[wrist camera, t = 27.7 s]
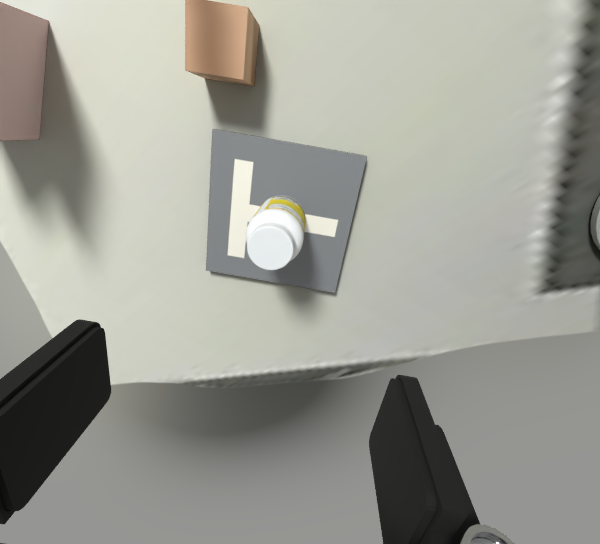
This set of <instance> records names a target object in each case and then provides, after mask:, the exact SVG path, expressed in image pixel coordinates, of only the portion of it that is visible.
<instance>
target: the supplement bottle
mask: <svg viewBox="0 0 600 544" xmlns="http://www.w3.org/2000/svg"><path fill="white" fill-rule="evenodd" d="M305 225H306V217H305V213H304V210H303V208H302V207H301V205H300V204H299V203H298V202H297V201H296V200H294V199H292V198H290V197H287V196H274V197H272V198H269V199H268V200H266V201H265V202H264V203H263V204H262V205H261V207H260V208H259V209H258V211H257V212H256V214H255V215H254V216H253V218H252V219H251V221H250V222H249V224H248V227H247V230H246V242H247V251H248V255H249V257H250V259H251V260H252V261H253V262H254V264H256V265H257V266H258V267H260V268H263V269H266V270H277V269H280V268H282V267H284V266H286V265H287V264H288V263H289V261H291V260H293V259H294V258H295V257H296V256H297V255H298V253H299V252H300V250H301V248H302V244H303V240H304V232H305Z"/></svg>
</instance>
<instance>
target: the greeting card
mask: <svg viewBox="0 0 600 544" xmlns="http://www.w3.org/2000/svg"><path fill="white" fill-rule="evenodd" d="M48 26H49V21H47V20H45V19H42V18H40V17H37V16H35V15H32V14H30V13H27V12H24V11H22V10H19V9H17V8H14V7H12V6H9V5H7V4H4V3H1V2H0V141H8V140H33V139H39V138H40V126H41V113H42V101H43V88H44V76H45V63H46V51H47V38H48Z"/></svg>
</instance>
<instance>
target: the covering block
mask: <svg viewBox="0 0 600 544" xmlns="http://www.w3.org/2000/svg"><path fill="white" fill-rule="evenodd" d="M258 36H259V24H258V22H257V21H256V19H255V18H254V16H253V14H252V13H251V11H250V10H249V8H248V7H244V6H238V5H232V4H225V3H219V2H213V1H207V0H185V70H186V71H188V72H191V73H193V74H196V75H198V76H200V77H203V78H206V79H212V80H218V81H224V82H230V83H236V84H242V85H248V86H255V74H256V61H257V49H258Z"/></svg>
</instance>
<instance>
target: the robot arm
mask: <svg viewBox="0 0 600 544" xmlns="http://www.w3.org/2000/svg"><path fill="white" fill-rule="evenodd" d="M591 234H592V238H593V241H594V243H595V245H596V246H597V248H598V249H599V250H600V196H599V197H598V199H597V201H596V204H595V206H594V209H593V212H592V217H591ZM110 394H111V385H110V376H109V366H108V357H107V348H106V338H105V331H104V329H103V328H101V327H100V324H99V323H97V322H91V321H85V320H76V321H75V322H73V323H72V324H71V325H69V326H68V327H67V328H66V329H64V330H63V331H62V332H60V333H59V334H58V335H57V336H55V337H54V338H53V339H51V340H50V341H49V342H48V343H46V344H45V345H44V346H42V347H41V348H40V349H39V350H37V351H36V352H35V353H33V354H32V355H31V356H30V357H28V358H27V359H26V360H24V361H23V362H22V363H21V364H19V365H18V366H17V367H15V368H14V369H13V370H12V371H10V372H9V373H8V374H6V375H5V376H4V377H3V378H1V379H0V524H5V523H6V522H7V521H8V519H9V518H10V517H11V516H12V514H13V513H14V512H15V511H19V510H21V509H22V508H23V507H24V506H25V505H26V504H27V503H28V502H29V500H30V499H31V498H32V496H33V495H34V494H35V493H36V492H37V490H38V489H39V488H40V486H41V485H42V484H43V483H44V481H45V480H46V479H47V478H48V476H49V475H50V474H51V472H52V471H53V470H54V469H55V467H56V466H57V465H58V464H59V462H60V461H61V460H62V458H63V457H64V456H65V455H66V453H67V452H68V451H69V450H70V448H71V447H72V446H73V445H74V443H75V442H76V441H77V439H78V438H79V437H80V436H81V434H82V433H83V432H84V430H85V429H86V428H87V427H88V425H89V424H90V423H91V422H92V420H93V419H94V418H95V417H96V415H97V414H98V413H99V412H100V410H101V409H102V408H103V407H104V405H105V404H106V403H107V401H108V399H109V397H110ZM369 447H370V454H371V461H372V468H373V475H374V482H375V489H376V496H377V503H378V510H379V516H380V523H381V530H382V537H383V544H514V543H513V542H512V541H511V540H510V539H509V538H508V537H507V536H506V535H504V534H503V533H501V532H500V531H498V530H497V529H495V528H492V527H490V526H487V525H481V524H480V523H479V520H478V517H477V515H476V513H475V510H474V507H473V505H472V503H471V500H470V497H469V495H468V492H467V490H466V487H465V485H464V482H463V480H462V477H461V475H460V472H459V470H458V467H457V465H456V462H455V460H454V457H453V455H452V452H451V449H450V447H449V444H448V442H447V440H446V437H445V434H444V432H443V430H442V428H441V427H439V425H435V424H434V421H433V418H432V416H431V413H430V410H429V408H428V405H427V403H426V400H425V397H424V395H423V392H422V389H421V387H420V384H419V381H418V379H417V378H415V377H409V376H403V375H398V376H397V377H396V379H393V378H392V379H391V380H390V382H389V385H388V387H387V390H386V393H385V396H384V399H383V401H382V404H381V407H380V409H379V412H378V415H377V418H376V421H375V423H374V426H373V429H372V432H371V434H370V439H369ZM0 544H4V543H0Z"/></svg>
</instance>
